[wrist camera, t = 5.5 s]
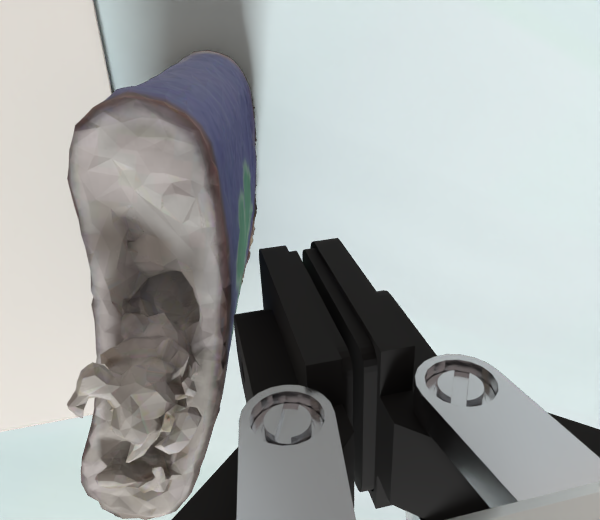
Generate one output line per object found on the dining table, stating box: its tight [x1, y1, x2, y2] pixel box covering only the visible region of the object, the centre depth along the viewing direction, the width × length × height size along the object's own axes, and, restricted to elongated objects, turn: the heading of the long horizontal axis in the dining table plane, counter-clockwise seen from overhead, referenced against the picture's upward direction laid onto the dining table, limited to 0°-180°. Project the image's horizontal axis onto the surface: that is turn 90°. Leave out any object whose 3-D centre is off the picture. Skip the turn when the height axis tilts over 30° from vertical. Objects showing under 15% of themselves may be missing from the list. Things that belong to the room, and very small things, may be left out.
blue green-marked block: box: [67, 50, 257, 520], centre depth 13 cm, size 9×3×11 cm, turn 172°
